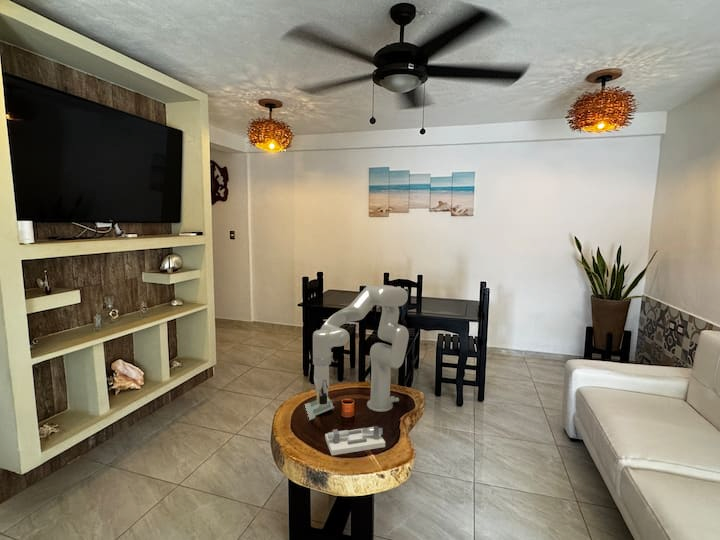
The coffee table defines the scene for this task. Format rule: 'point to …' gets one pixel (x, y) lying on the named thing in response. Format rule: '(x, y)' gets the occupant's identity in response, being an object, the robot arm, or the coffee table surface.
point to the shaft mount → (351, 441)
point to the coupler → (319, 394)
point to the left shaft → (373, 431)
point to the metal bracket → (317, 408)
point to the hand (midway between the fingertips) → (322, 400)
